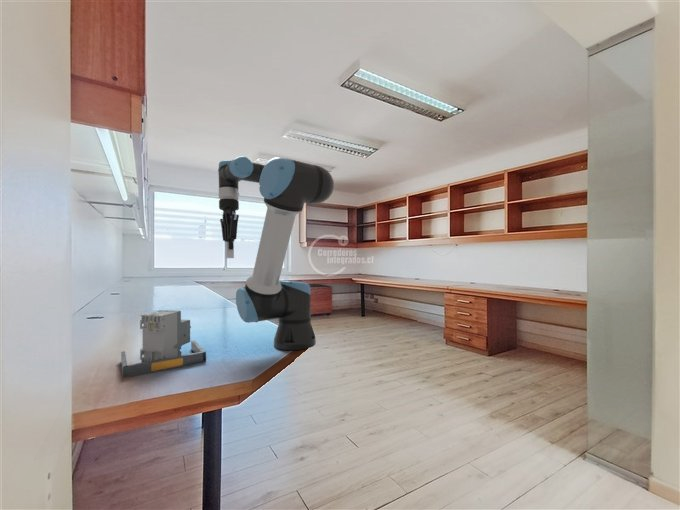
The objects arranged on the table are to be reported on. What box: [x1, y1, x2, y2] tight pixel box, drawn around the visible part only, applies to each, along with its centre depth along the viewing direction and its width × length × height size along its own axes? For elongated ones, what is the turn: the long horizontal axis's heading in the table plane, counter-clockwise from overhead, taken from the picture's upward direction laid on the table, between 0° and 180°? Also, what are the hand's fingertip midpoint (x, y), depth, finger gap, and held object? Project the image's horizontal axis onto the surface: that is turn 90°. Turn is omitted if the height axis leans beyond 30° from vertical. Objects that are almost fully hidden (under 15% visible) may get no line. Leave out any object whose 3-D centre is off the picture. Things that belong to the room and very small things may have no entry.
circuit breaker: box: [139, 309, 192, 363], centre depth 99 cm, size 8×14×15 cm, turn 169°
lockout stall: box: [120, 340, 207, 379], centre depth 96 cm, size 17×21×3 cm
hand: (229, 258), depth 124 cm, fingers closed
